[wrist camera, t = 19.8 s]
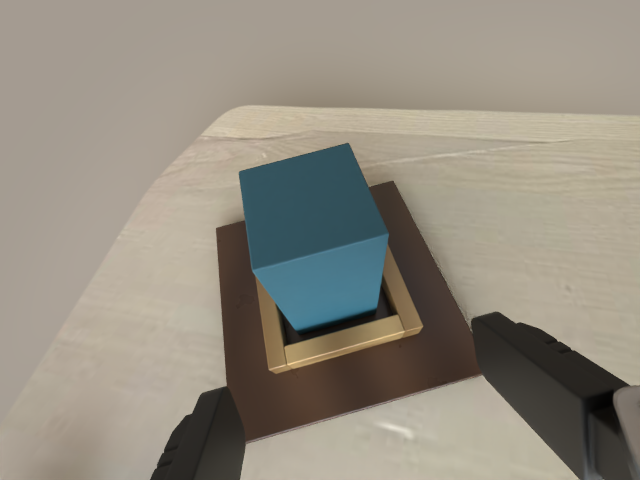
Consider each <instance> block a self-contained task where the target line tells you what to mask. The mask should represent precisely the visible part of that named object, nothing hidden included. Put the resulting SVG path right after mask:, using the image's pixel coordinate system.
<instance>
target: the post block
mask: <svg viewBox="0 0 640 480" xmlns="http://www.w3.org/2000/svg"><path fill="white" fill-rule="evenodd" d="M239 178H240V186H241V193H242V201H243V208H244V216H245V223H246V231H247V238H248V246H249V253H250V261H251V268H252V271H253V273H254V274H255V276H256V277H257V278H258V280H259V281H260V282H261V284H262V285H263V287H264V288H265V289H266V291H267V292H268V293H269V295H270V296H271V298H272V299H273V300H274V302H275V303H276V304H277V306H278V307H279V309H280V310H281V311H282V313H283V314H284V315H285V317H286V318H287V320H288V321H289V322H290V324H291V325H292V326H293V328H294V329H295V330H296V332H297V333H298V335H302V334H305V333H309V332H312V331H316V330H320V329H323V328H327V327H330V326H334V325H337V324H341V323H345V322H348V321H352V320H355V319H359V318H363V317H366V316H370V315H373V314H376V311H377V305H378V299H379V293H380V286H381V280H382V274H383V268H384V262H385V256H386V249H387V243H388V237H389V232H388V230H387V228H386V226H385V223H384V221H383V219H382V217H381V214H380V212H379V210H378V208H377V205H376V203H375V201H374V199H373V196H372V194H371V192H370V190H369V187H368V185H367V183H366V181H365V178H364V176H363V174H362V172H361V169H360V167H359V165H358V163H357V160H356V158H355V156H354V154H353V151H352V149H351V147H350V145H349V143H346V144H342V145H338V146H335V147H331V148H327V149H323V150H319V151H315V152H312V153H308V154H304V155H300V156H296V157H292V158H289V159H285V160H281V161H277V162H273V163H269V164H266V165H262V166H258V167H254V168H250V169H246V170H243V171H240V172H239Z"/></svg>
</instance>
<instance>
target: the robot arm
mask: <svg viewBox="0 0 640 480" xmlns="http://www.w3.org/2000/svg"><path fill="white" fill-rule="evenodd" d="M471 325H472V332H473V339H474V346H475V353H476V360H477V363H478V366H479V368H480V370H481V372H482V374H483V376H484V377H485V378H486V380H487V381H488V382H489V383H490V384H491V385H492V386H493V387H494V388H495V389H496V390H497V392H498V393H499V394H500V395H501V396H502V397H503V398H504V399H505V400H506V401H507V402H508V403H509V404H510V405H511V406H512V407H513V409H514V410H515V411H516V412H517V413H518V414H519V415H520V416H521V417H522V418H523V419H524V420H525V421H526V422H527V423H528V425H529V426H530V427H531V428H532V429H533V430H534V431H535V432H536V433H537V434H538V435H539V436H540V437H541V438H542V439H543V441H544V442H545V443H546V444H547V445H548V446H549V447H550V448H551V449H552V450H553V451H554V452H555V453H556V454H557V455H558V456H559V458H560V459H561V460H562V461H563V462H564V463H565V464H566V465H567V466H568V467H569V468H570V469H571V470H572V471H573V472H574V474H575V475H576V476H577V477H578V478H579V479H580V480H602V479H604V480H640V386H630V385H629V384H627V383H625V382H624V381H622V380H621V379H619V378H617V377H616V376H614V375H613V374H611V373H610V372H608V371H606V370H605V369H603V368H602V367H600V366H598V365H597V364H595V363H594V362H592V361H590V360H589V359H587V358H586V357H584V356H582V355H581V354H579V353H578V352H576V351H572V350H571V348H570V347H568V346H566V345H565V344H563V343H562V342H558V341H557V339H555V338H554V337H552V336H551V335H549V334H547V333H546V332H544V331H543V330H541V329H539V328H536V327H533V326H530V325H527V324H524V323H521V322H520V323H517V324H516V323H514V322H513V321H511V320H510V319H508V318H507V317H505V316H504V315H502V314H501V313H499V312H493V313H489V314H485V315H482V316H478V317H475V318H473V319H472V321H471ZM245 446H246V437H245V430H244V425H243V423H242V420H241V417H240V415H239V412H238V409H237V407H236V404H235V402H234V399H233V396H232V394H231V391H230V389H229V388H228V387H227V386H225V387H222V388H218V389H214V390H211V391H207V392H204V393H202V394H201V395H200V397H199V399H198V401H197V404H196V406H195V408H194V411H193V413H192V414H190V415H186V416H185V417H184V419H183V420H182V421H181V422H180V424H179V425H178V426H177V427H176V428H175V430H174V431H173V432H172V434H171V436H170V438H169V440H168V443H167V445H166V447H165V449H164V453H162V455H161V457H160V460H159V462H158V464H157V469H155V470H154V472H153V474H152V477H151V479H150V480H240V475H241V470H242V464H243V458H244V453H245Z"/></svg>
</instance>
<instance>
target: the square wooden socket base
mask: <svg viewBox="0 0 640 480" xmlns="http://www.w3.org/2000/svg"><path fill="white" fill-rule="evenodd" d="M369 190H370V192H371V194H372V196H373V199H374V201H375V203H376V205H377V208H378V210H379V212H380V214H381V217H382V219H383V221H384V223H385V226H386V228H387V230H388V232H389V237H388V243H387V249H386V256H385V262H384V268H383V274H382V280H381V286H380V293H379V299H378V305H377V311H376V314H373V315H370V316H366V317H363V318H359V319H355V320H352V321H348V322H345V323H341V324H337V325H334V326H330V327H327V328H323V329H320V330H316V331H312V332H309V333H305V334H302V335H298V333H297V332H296V330H295V329H294V328H293V326H292V325H291V324H290V322H289V321H288V320H287V318H286V317H285V315H284V314H283V313H282V311H281V310H280V309H279V307H278V306H277V304H276V303H275V302H274V300H273V299H272V298H271V296H270V295H269V293H268V292H267V291H266V289H265V288H264V287H263V285H262V284H261V282H260V281H259V280H258V278H257V277H256V276H255V274H254V273H253V271H252V268H251V261H250V253H249V246H248V238H247V231H246V223H245V220H244V221H241V222H237V223H233V224H229V225H226V226H222V227H218V228H216V235H217V250H218V264H219V278H220V293H221V307H222V322H223V336H224V351H225V365H226V380H227V387H228V388H229V389H230V391H231V394H232V396H233V399H234V402H235V404H236V407H237V409H238V412H239V415H240V417H241V420H242V423H243V425H244V430H245V437H246V444H247V443H251V442H254V441H258V440H261V439H265V438H268V437H271V436H275V435H278V434H282V433H285V432H289V431H292V430H296V429H299V428H302V427H306V426H309V425H313V424H316V423H320V422H323V421H326V420H330V419H333V418H337V417H340V416H344V415H347V414H350V413H354V412H357V411H361V410H364V409H368V408H371V407H375V406H378V405H381V404H385V403H388V402H392V401H395V400H399V399H402V398H405V397H409V396H412V395H416V394H419V393H423V392H426V391H430V390H433V389H436V388H440V387H443V386H447V385H450V384H454V383H457V382H460V381H464V380H467V379H471V378H474V377H478V376H481V375H483V374H482V372H481V370H480V368H479V366H478V363H477V360H476V353H475V346H474V339H473V334H472V332H471V331H470V329H469V327H468V325H467V323H466V321H465V319H464V317H463V315H462V313H461V311H460V309H459V307H458V305H457V303H456V301H455V300H454V298H453V296H452V294H451V292H450V290H449V288H448V286H447V284H446V282H445V280H444V278H443V276H442V274H441V272H440V270H439V268H438V267H437V265H436V263H435V261H434V259H433V257H432V255H431V253H430V251H429V249H428V247H427V245H426V243H425V241H424V239H423V237H422V236H421V234H420V232H419V230H418V228H417V226H416V224H415V222H414V220H413V218H412V216H411V214H410V212H409V210H408V208H407V206H406V204H405V203H404V201H403V199H402V197H401V195H400V193H399V191H398V189H397V187H396V185H395V183H394V181H390V182H386V183H383V184H379V185H375V186H371V187H369Z"/></svg>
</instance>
